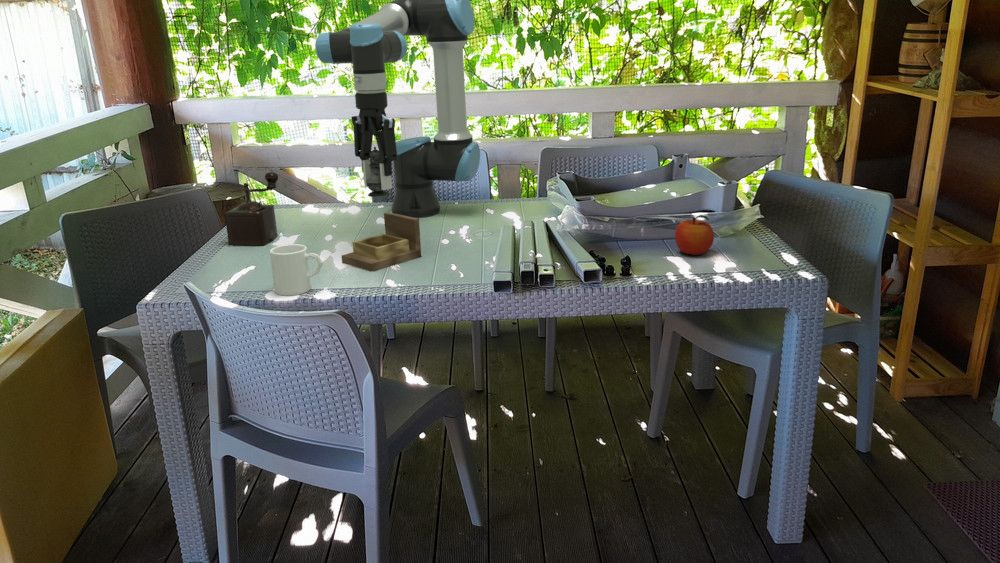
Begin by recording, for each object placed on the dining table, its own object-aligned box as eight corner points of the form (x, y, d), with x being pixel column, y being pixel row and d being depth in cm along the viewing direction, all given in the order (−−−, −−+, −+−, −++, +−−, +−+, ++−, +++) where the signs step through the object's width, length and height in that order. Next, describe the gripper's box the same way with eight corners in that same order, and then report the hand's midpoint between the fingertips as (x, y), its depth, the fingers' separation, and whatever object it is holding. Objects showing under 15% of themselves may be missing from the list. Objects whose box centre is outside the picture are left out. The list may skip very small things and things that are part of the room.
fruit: (683, 245, 210) (684, 208, 207) (718, 251, 205) (721, 212, 201) (667, 255, 203) (669, 216, 200) (704, 260, 197) (706, 220, 194)
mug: (318, 297, 180) (313, 254, 177) (268, 295, 182) (263, 253, 179) (332, 285, 187) (328, 244, 184) (284, 283, 190) (279, 243, 187)
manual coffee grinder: (265, 246, 222) (257, 181, 216) (227, 246, 223) (218, 181, 218) (287, 231, 236) (280, 170, 231) (251, 231, 238) (244, 170, 232)
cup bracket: (391, 248, 216) (388, 212, 212) (421, 256, 208) (418, 218, 205) (342, 262, 205) (338, 224, 201) (372, 271, 197) (368, 231, 194)
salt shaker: (364, 193, 202) (359, 145, 198) (386, 191, 204) (383, 143, 201) (370, 198, 197) (366, 149, 193) (393, 195, 199) (389, 146, 196)
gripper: (333, 91, 196) (342, 185, 204) (384, 94, 184) (391, 194, 192) (358, 88, 202) (366, 180, 209) (408, 91, 189) (415, 189, 197)
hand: (378, 187), depth 200 cm, fingers closed on salt shaker, 6 cm apart
